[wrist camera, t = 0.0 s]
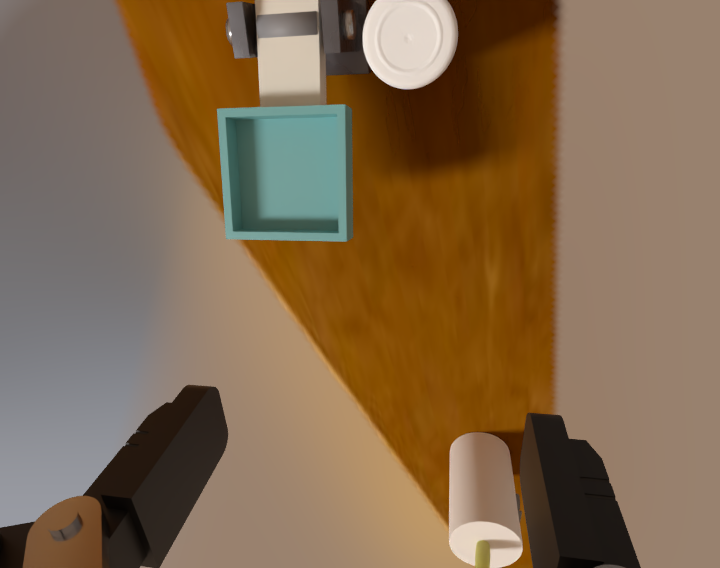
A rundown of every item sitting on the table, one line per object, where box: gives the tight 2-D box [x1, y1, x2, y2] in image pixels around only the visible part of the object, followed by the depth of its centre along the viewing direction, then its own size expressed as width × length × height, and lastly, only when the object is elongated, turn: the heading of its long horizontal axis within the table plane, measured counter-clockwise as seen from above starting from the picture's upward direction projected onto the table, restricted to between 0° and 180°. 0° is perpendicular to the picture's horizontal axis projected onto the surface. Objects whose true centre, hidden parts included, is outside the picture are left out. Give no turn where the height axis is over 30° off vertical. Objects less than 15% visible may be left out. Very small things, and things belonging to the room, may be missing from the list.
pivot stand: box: [226, 0, 371, 75], centre depth 31 cm, size 6×8×8 cm
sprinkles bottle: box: [363, 0, 458, 89], centre depth 28 cm, size 5×5×14 cm
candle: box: [449, 432, 523, 568], centre depth 44 cm, size 6×6×15 cm
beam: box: [217, 0, 353, 241], centre depth 28 cm, size 26×8×6 cm, turn 2°
